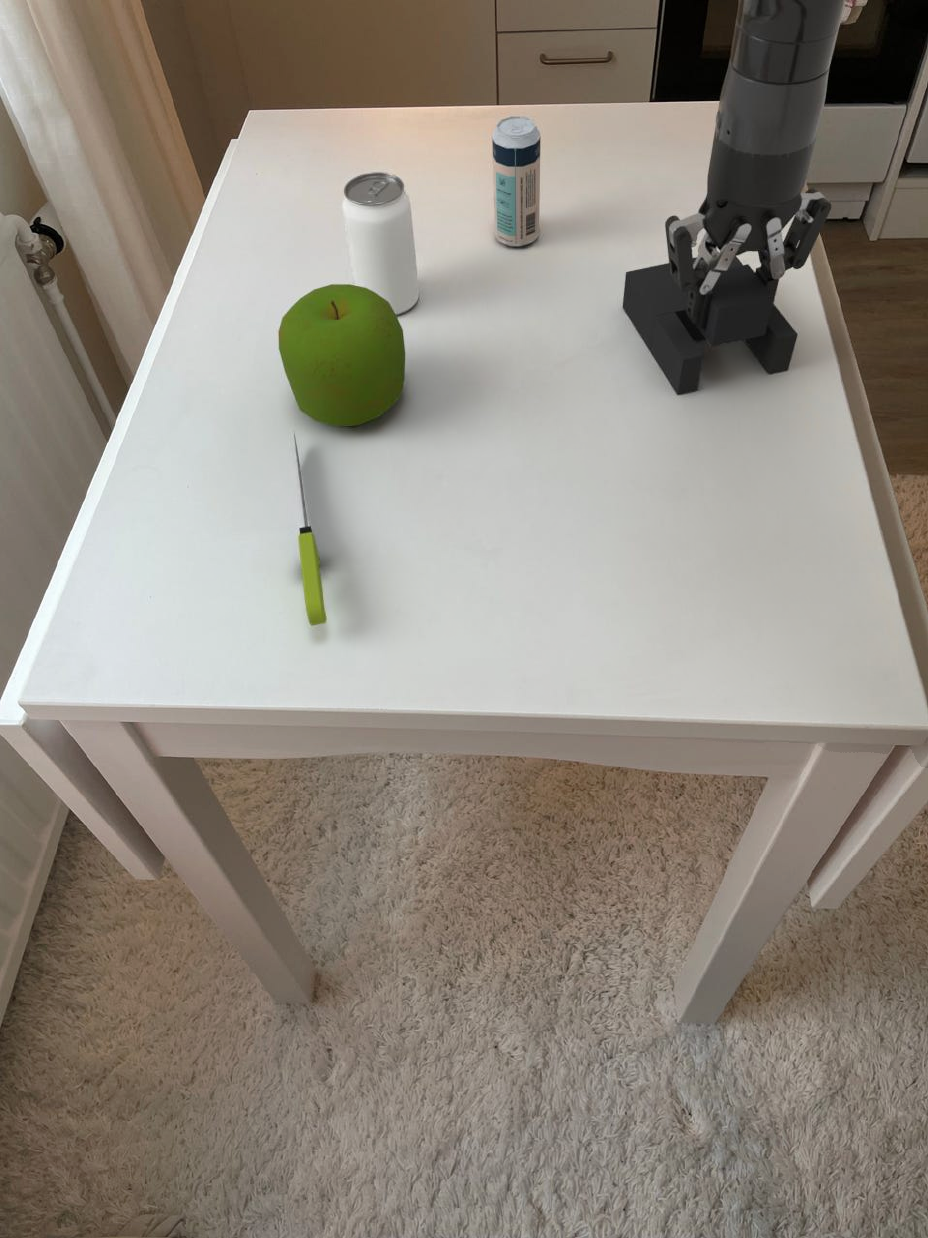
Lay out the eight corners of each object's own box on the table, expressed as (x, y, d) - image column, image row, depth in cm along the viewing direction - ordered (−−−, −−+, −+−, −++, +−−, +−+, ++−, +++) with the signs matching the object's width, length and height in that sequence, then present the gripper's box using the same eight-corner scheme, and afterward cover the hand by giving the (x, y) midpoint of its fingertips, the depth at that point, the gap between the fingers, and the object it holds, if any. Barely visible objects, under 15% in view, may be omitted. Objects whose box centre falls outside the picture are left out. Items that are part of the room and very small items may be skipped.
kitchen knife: (292, 456, 86) (285, 429, 84) (306, 454, 87) (300, 427, 84) (313, 639, 72) (305, 612, 70) (330, 635, 72) (323, 609, 70)
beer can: (540, 225, 105) (541, 113, 95) (537, 249, 102) (539, 137, 92) (496, 224, 105) (493, 113, 95) (493, 249, 102) (490, 137, 93)
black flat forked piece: (788, 370, 88) (798, 334, 85) (677, 395, 87) (683, 359, 84) (724, 285, 97) (731, 249, 93) (622, 306, 95) (625, 271, 92)
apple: (406, 439, 85) (393, 338, 77) (287, 442, 86) (261, 342, 77) (412, 360, 92) (401, 258, 83) (302, 363, 92) (279, 262, 84)
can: (346, 311, 97) (327, 200, 87) (373, 276, 100) (357, 164, 91) (404, 324, 95) (391, 211, 86) (429, 287, 99) (419, 175, 89)
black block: (740, 302, 88) (748, 263, 85) (765, 335, 85) (774, 296, 82) (687, 313, 88) (693, 274, 84) (711, 347, 85) (718, 308, 81)
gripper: (698, 167, 69) (669, 358, 83) (878, 131, 71) (821, 324, 84) (658, 119, 73) (637, 308, 87) (829, 87, 75) (782, 277, 89)
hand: (728, 315), depth 86 cm, fingers closed on black block, 5 cm apart
